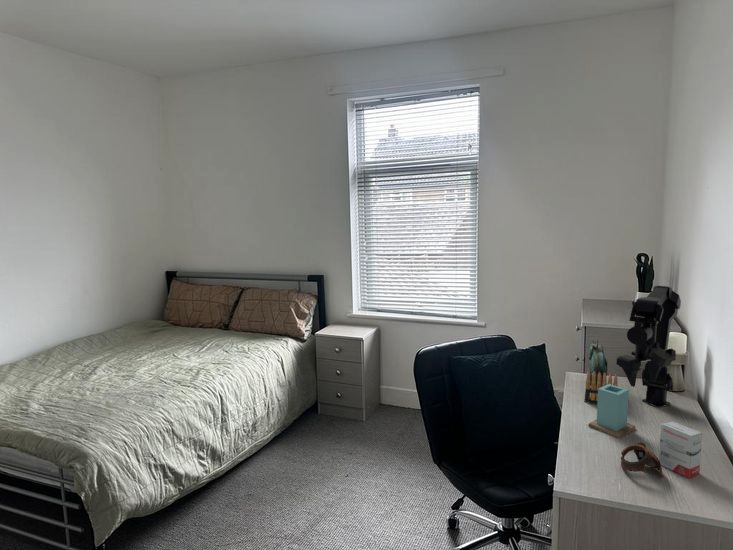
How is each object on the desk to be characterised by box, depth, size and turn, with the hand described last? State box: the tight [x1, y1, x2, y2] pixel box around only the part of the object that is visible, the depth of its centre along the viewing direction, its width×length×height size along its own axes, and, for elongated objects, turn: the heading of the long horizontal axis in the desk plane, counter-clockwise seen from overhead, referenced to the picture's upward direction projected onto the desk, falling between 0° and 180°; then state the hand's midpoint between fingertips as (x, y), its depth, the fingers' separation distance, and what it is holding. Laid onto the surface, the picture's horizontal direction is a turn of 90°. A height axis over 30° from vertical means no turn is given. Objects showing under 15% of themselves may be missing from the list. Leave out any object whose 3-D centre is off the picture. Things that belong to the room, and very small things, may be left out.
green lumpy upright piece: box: [587, 339, 608, 387], centre depth 183 cm, size 20×6×20 cm, turn 158°
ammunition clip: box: [584, 369, 619, 405], centre depth 173 cm, size 11×2×12 cm, turn 59°
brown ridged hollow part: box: [620, 441, 664, 479], centre depth 131 cm, size 12×10×8 cm
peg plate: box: [587, 418, 636, 439], centre depth 155 cm, size 10×10×5 cm
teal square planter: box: [596, 383, 630, 431], centre depth 154 cm, size 6×6×12 cm
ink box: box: [658, 420, 703, 479], centre depth 130 cm, size 8×5×12 cm, turn 26°
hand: (642, 384), depth 157 cm, fingers open, 9 cm apart
